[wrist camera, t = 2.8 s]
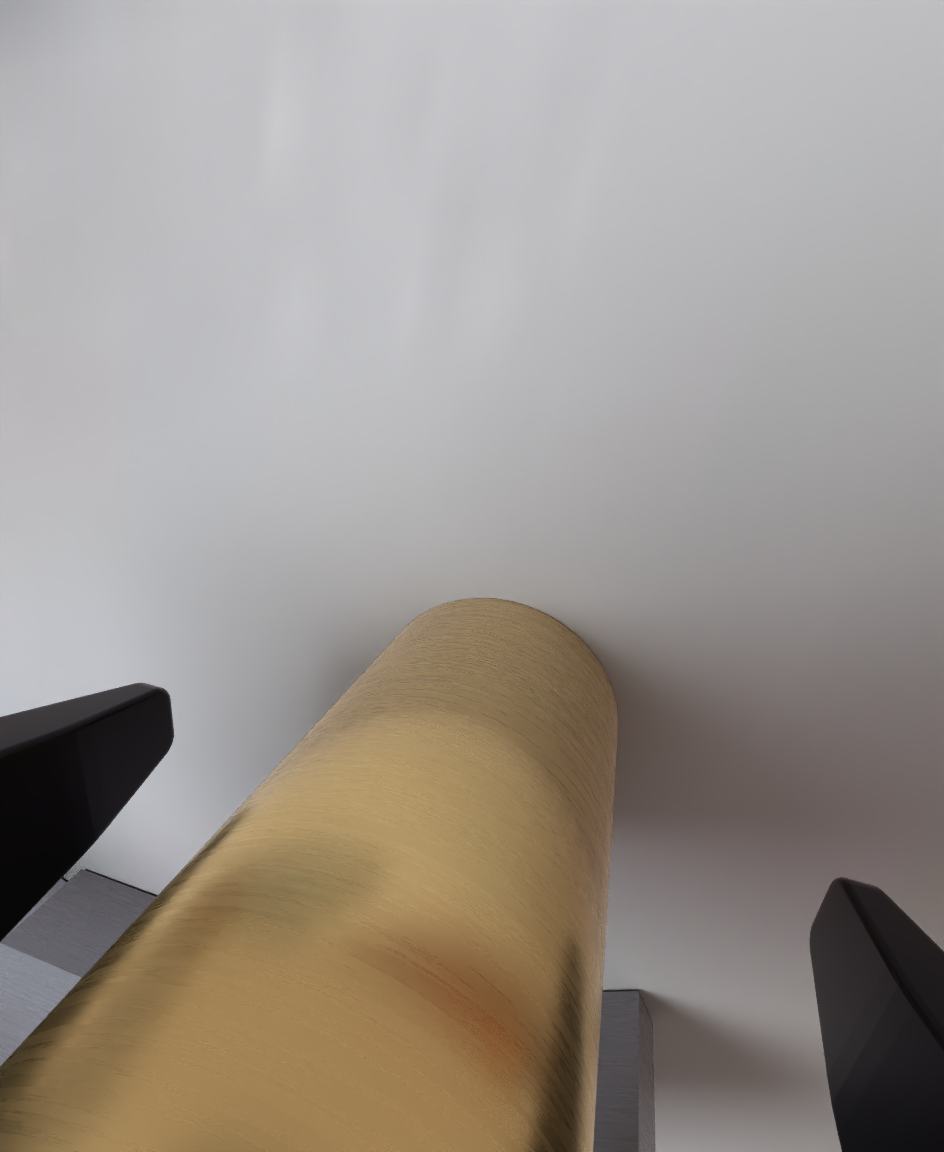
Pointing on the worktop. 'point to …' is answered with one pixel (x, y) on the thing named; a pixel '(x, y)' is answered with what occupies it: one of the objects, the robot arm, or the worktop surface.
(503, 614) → the pin
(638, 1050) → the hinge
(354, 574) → the worktop surface
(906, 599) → the worktop surface
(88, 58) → the worktop surface
